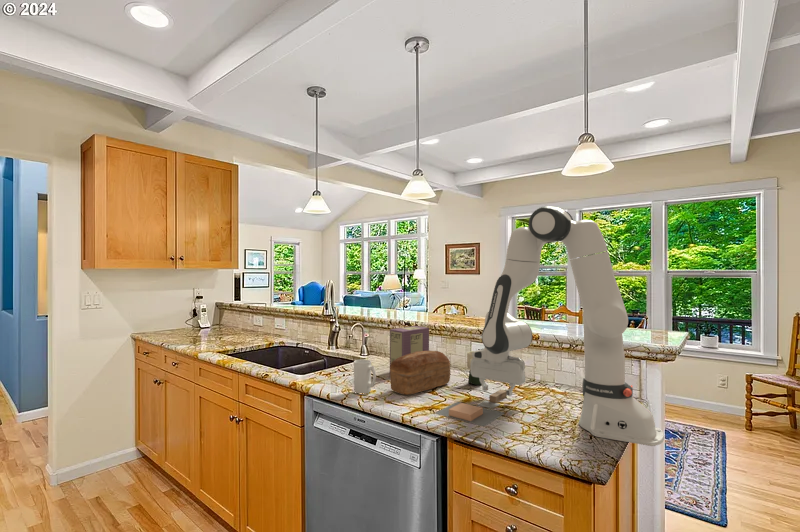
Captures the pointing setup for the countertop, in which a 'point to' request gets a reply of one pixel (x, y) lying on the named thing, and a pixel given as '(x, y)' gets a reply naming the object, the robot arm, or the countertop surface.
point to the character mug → (471, 379)
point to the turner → (494, 399)
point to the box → (408, 341)
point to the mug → (363, 376)
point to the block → (465, 411)
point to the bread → (419, 372)
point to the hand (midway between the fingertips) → (497, 392)
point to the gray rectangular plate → (481, 420)
